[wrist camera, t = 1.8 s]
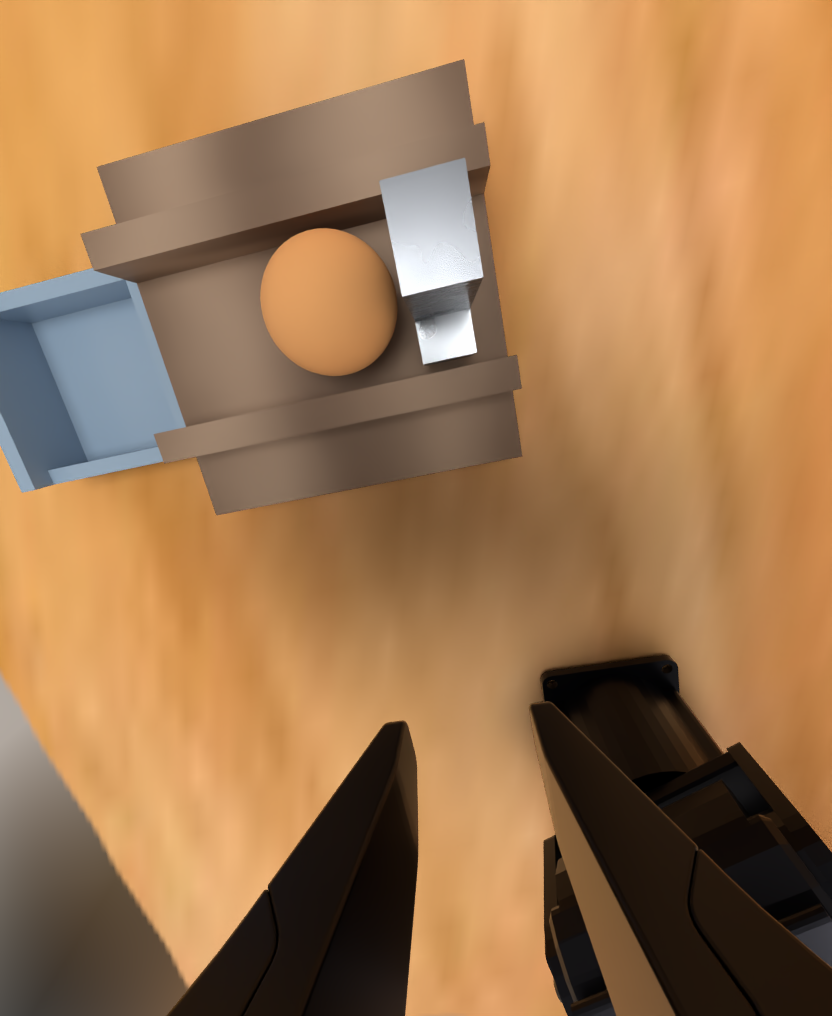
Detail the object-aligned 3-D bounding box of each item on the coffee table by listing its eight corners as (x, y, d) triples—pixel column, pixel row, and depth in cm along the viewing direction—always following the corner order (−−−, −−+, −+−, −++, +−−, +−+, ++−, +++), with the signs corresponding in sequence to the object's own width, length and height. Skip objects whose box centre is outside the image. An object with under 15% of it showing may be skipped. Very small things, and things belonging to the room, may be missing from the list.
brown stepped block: (459, 122, 17) (467, 5, 11) (508, 442, 20) (532, 467, 15) (161, 205, 18) (44, 135, 13) (252, 493, 21) (189, 532, 16)
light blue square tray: (175, 272, 19) (116, 250, 15) (230, 443, 21) (188, 457, 17) (21, 312, 19) (-67, 299, 16) (87, 474, 21) (21, 492, 18)
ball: (388, 236, 15) (369, 187, 11) (413, 362, 16) (405, 358, 12) (272, 265, 15) (214, 228, 11) (304, 386, 16) (262, 390, 12)
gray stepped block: (448, 210, 14) (453, 77, 8) (472, 355, 15) (493, 342, 9) (398, 223, 14) (364, 103, 8) (425, 365, 15) (414, 359, 9)
